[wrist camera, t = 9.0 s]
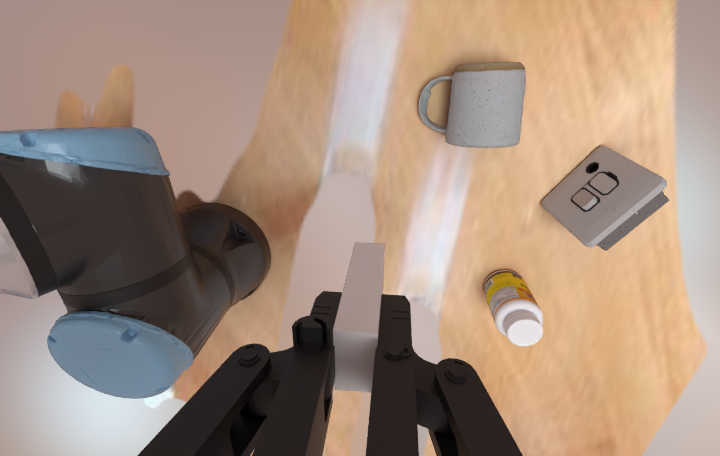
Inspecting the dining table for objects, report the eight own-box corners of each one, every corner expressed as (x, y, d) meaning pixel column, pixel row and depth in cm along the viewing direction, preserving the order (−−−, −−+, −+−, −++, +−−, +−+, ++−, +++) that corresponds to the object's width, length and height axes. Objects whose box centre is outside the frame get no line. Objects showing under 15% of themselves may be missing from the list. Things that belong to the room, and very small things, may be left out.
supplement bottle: (528, 294, 51) (556, 345, 42) (489, 305, 53) (507, 357, 43) (517, 262, 49) (543, 308, 40) (477, 275, 51) (493, 322, 41)
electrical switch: (600, 142, 42) (655, 168, 34) (628, 168, 43) (688, 198, 35) (537, 201, 46) (573, 238, 37) (564, 223, 47) (605, 263, 39)
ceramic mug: (517, 60, 39) (540, 59, 32) (508, 137, 43) (527, 150, 36) (419, 66, 41) (420, 66, 34) (417, 139, 44) (419, 153, 37)
